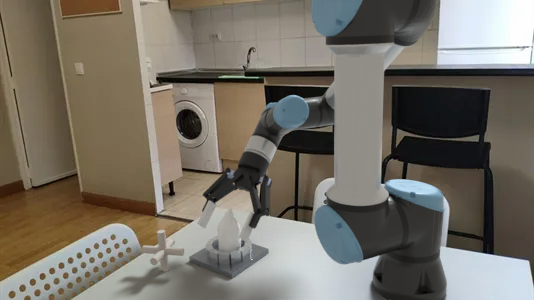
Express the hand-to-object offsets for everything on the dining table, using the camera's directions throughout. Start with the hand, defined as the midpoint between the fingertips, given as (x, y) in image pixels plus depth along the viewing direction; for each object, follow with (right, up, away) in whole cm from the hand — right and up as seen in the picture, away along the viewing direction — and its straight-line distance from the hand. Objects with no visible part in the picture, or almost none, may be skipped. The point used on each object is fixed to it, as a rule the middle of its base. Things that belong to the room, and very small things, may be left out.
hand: (221, 232), depth 105 cm
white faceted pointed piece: (+2, -6, +3) cm, 7 cm away
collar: (+2, -7, +4) cm, 8 cm away
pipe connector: (-13, -9, -1) cm, 16 cm away
